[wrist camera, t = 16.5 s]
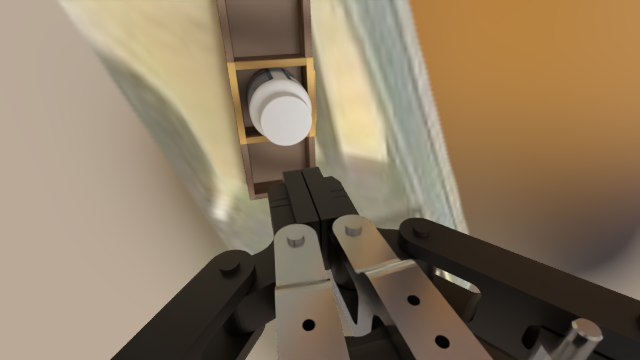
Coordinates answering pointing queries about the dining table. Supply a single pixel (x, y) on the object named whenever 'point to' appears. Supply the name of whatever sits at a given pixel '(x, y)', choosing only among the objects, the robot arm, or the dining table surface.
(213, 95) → the dining table surface
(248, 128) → the rack
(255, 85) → the pill bottle
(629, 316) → the robot arm
